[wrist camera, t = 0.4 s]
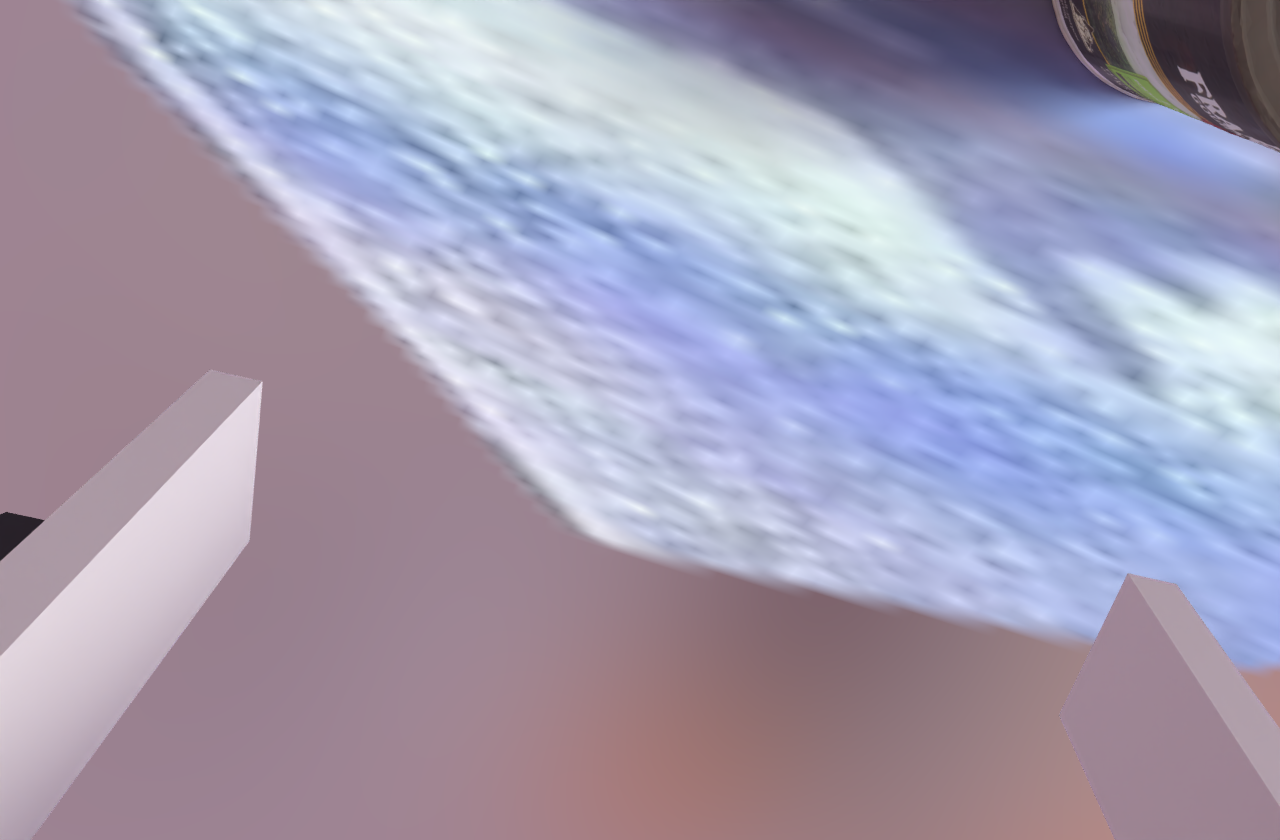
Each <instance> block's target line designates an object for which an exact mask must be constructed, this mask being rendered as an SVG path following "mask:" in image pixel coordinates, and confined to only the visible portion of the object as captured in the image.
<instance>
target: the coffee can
mask: <svg viewBox="0 0 1280 840" xmlns="http://www.w3.org/2000/svg"><path fill="white" fill-rule="evenodd" d="M1052 4H1053V8H1054V11H1055V15H1056V18H1057V22H1058V25H1059V27H1060V29H1061V32H1062V34H1063V36H1064V38H1065V40H1066V41H1067V43H1068V44H1069V46H1070V48H1071V49H1072V51H1073V52H1074V54H1075V55H1076V56H1077V58H1078V59H1079V60H1080V61H1081V62H1082V63H1083V64H1084V65H1085V66H1086V67H1087V68H1088V69H1089V70H1090V71H1091V72H1092V73H1093V74H1094V75H1095V76H1096V77H1098V78H1099V79H1100V80H1102V81H1103V82H1104V83H1106V84H1108V85H1110V86H1111V87H1113V88H1115V89H1116V90H1118V91H1120V92H1122V93H1125V94H1127V95H1129V96H1131V97H1133V98H1136V99H1140V100H1145V101H1148V102H1153V103H1157V104H1160V105H1162V106H1165V107H1168V108H1170V109H1173V110H1175V111H1178V112H1180V113H1183V114H1185V115H1187V116H1190V117H1192V118H1195V119H1198V120H1200V121H1203V122H1205V123H1207V124H1210V125H1213V126H1214V127H1217V128H1219V129H1222V130H1224V131H1226V132H1228V133H1230V134H1234V135H1237V136H1239V137H1242V138H1244V139H1247V140H1250V141H1253V142H1256V143H1258V144H1260V145H1263V146H1265V147H1267V148H1270V149H1273V150H1275V151H1278V152H1280V0H1052Z"/></svg>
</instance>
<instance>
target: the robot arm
mask: <svg viewBox="0 0 1280 840" xmlns="http://www.w3.org/2000/svg"><path fill="white" fill-rule="evenodd" d="M261 394H262V381H259V380H254V379H250V378H246V377H241V376H236V375H231V374H228V373H223V372H219V371H214V370H209V371H208V372H207V373H206V374H205V375H204V376H203V377H202V378H200V379H199V380H198V381H197V382H196V383H195V384H194V385H193V386H192V387H191V388H190V389H188V390H187V391H186V392H185V393H184V394H183V395H182V396H181V397H180V398H179V399H178V400H176V401H175V402H174V403H173V404H172V405H171V406H170V407H169V408H168V409H166V410H165V411H164V412H163V413H162V414H161V415H160V416H159V417H158V418H157V419H156V420H155V421H153V422H152V423H151V424H150V425H149V426H148V427H147V428H146V429H145V430H143V431H142V432H141V433H140V434H139V435H138V436H137V437H136V438H135V439H134V440H133V441H131V442H130V443H129V444H128V445H127V446H126V447H125V448H124V449H123V450H122V451H120V452H119V454H117V455H116V456H115V457H114V458H113V459H112V460H111V461H110V462H109V463H107V464H106V465H105V466H104V467H103V468H102V469H101V470H100V471H99V472H97V474H95V475H94V476H93V477H92V478H91V479H90V480H89V481H88V482H87V483H85V485H83V486H82V487H81V488H80V489H79V490H78V491H77V492H76V493H75V494H74V495H72V496H71V497H70V498H69V499H68V500H67V501H66V502H65V503H64V504H63V505H61V507H59V508H58V509H57V510H56V511H55V512H54V513H53V514H52V515H50V516H49V517H48V518H47V519H46V520H41V519H36V518H32V517H27V516H22V515H17V514H13V513H8V512H5V513H3V514H0V840H31V839H32V838H33V837H34V835H35V834H36V833H37V831H38V830H39V828H40V827H41V826H42V824H43V823H44V821H45V820H46V819H47V817H48V816H49V815H50V813H51V812H52V811H53V809H54V808H55V806H56V805H57V804H58V802H59V801H60V800H61V798H62V797H63V796H64V794H65V793H66V791H67V790H68V789H69V787H70V786H71V785H72V783H73V782H74V780H75V779H76V778H77V776H78V775H79V774H80V772H81V771H82V769H83V768H84V767H85V765H86V764H87V763H88V761H89V760H90V758H91V757H92V756H93V754H94V753H95V752H96V750H97V749H98V748H99V746H100V745H101V743H102V742H103V741H104V739H105V738H106V736H107V735H108V734H109V732H110V731H111V730H112V728H113V727H114V725H115V724H116V723H117V722H118V720H119V719H120V717H121V716H122V715H123V713H124V712H125V711H126V709H127V708H128V706H129V705H130V704H131V702H132V701H133V699H134V698H135V697H136V695H137V694H138V693H139V691H140V690H141V689H142V687H143V686H144V684H145V683H146V682H147V680H148V679H149V678H150V676H151V675H152V673H153V672H154V671H155V669H156V668H157V667H158V665H159V664H160V663H161V661H162V660H163V658H164V657H165V656H166V654H167V653H168V652H169V650H170V649H171V647H172V646H173V645H174V643H175V642H176V641H177V639H178V638H179V637H180V635H181V634H182V632H183V631H184V630H185V628H186V627H187V625H188V624H189V623H190V621H191V620H192V619H193V617H194V616H195V615H196V613H197V611H198V610H199V609H200V608H201V606H202V605H203V604H204V602H205V601H206V599H207V598H208V597H209V595H210V594H211V593H212V591H213V590H214V589H215V587H216V586H217V584H218V583H219V582H220V580H221V579H222V578H223V576H224V575H225V573H226V572H227V571H228V569H229V568H230V567H231V565H232V564H233V563H234V561H235V560H236V558H237V557H238V556H239V554H240V553H241V552H242V550H243V549H244V547H245V546H246V545H247V543H248V542H249V539H250V527H251V515H252V502H253V491H254V479H255V478H254V477H255V467H256V454H257V442H258V430H259V417H260V405H261ZM1059 716H1060V718H1061V721H1062V723H1063V725H1064V727H1065V730H1066V732H1067V734H1068V736H1069V739H1070V741H1071V743H1072V745H1073V747H1074V750H1075V752H1076V754H1077V756H1078V759H1079V761H1080V763H1081V765H1082V767H1083V770H1084V772H1085V774H1086V776H1087V779H1088V781H1089V783H1090V785H1091V788H1092V790H1093V792H1094V794H1095V797H1096V799H1097V801H1098V803H1099V805H1100V808H1101V810H1102V812H1103V814H1104V816H1105V819H1106V821H1107V823H1108V826H1109V828H1110V830H1111V832H1112V834H1113V837H1114V839H1115V840H1280V729H1279V727H1278V726H1277V724H1276V723H1275V722H1274V720H1273V719H1272V718H1271V716H1270V715H1269V713H1268V712H1267V711H1266V709H1265V708H1264V707H1263V705H1262V703H1261V702H1260V701H1259V699H1258V698H1257V696H1256V695H1255V694H1254V692H1253V691H1252V690H1251V688H1250V687H1249V685H1248V684H1247V682H1246V681H1245V680H1244V678H1243V677H1242V675H1241V674H1240V673H1239V671H1238V670H1237V668H1236V667H1235V666H1234V664H1233V663H1232V661H1231V660H1230V659H1229V657H1228V656H1227V654H1226V653H1225V652H1224V650H1223V649H1222V647H1221V646H1220V645H1219V643H1218V642H1217V640H1216V639H1215V637H1214V636H1213V635H1212V633H1211V632H1210V630H1209V629H1208V628H1207V626H1206V625H1205V623H1204V622H1203V621H1202V619H1201V618H1200V616H1199V615H1198V614H1197V612H1196V611H1195V609H1194V608H1193V607H1192V605H1191V604H1190V602H1189V601H1188V600H1187V598H1186V597H1185V595H1184V594H1183V593H1182V591H1181V590H1180V588H1179V587H1178V586H1177V584H1173V583H1169V582H1164V581H1160V580H1155V579H1151V578H1146V577H1142V576H1137V575H1133V574H1127V576H1126V578H1125V580H1124V582H1123V584H1122V586H1121V589H1120V591H1119V593H1118V595H1117V597H1116V599H1115V601H1114V603H1113V605H1112V607H1111V609H1110V611H1109V613H1108V615H1107V617H1106V619H1105V621H1104V624H1103V626H1102V628H1101V630H1100V632H1099V634H1098V636H1097V638H1096V640H1095V642H1094V644H1093V646H1092V648H1091V650H1090V652H1089V654H1088V656H1087V659H1086V661H1085V663H1084V665H1083V667H1082V669H1081V671H1080V673H1079V675H1078V677H1077V679H1076V681H1075V683H1074V685H1073V687H1072V689H1071V692H1070V694H1069V696H1068V698H1067V700H1066V702H1065V704H1064V706H1063V708H1062V710H1061V712H1060V715H1059Z"/></svg>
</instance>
